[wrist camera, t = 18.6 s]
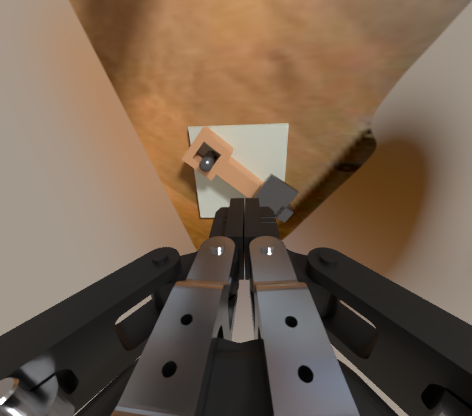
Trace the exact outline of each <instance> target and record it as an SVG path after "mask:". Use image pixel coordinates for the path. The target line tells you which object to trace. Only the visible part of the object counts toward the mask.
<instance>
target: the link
mask: <svg viewBox="0 0 472 416" xmlns="http://www.w3.org/2000/svg"><path fill="white" fill-rule="evenodd" d="M204 142H205V143H206V144H208V145H209V146H210V147H212V148H213V149H214V150H215V151H217V152H218V153H219V154H220V155H219V156H218V158H217V159H216V160H215V162H214V164H213V166H212V168H211V170H210V171H209V172H203V171H202V170H201V169H200V168H199V163H200V162H201V160H202V159H203V156H202V155H200V154H199V153H198V151H199V149H200V148H201V146H202V145H203V143H204ZM233 150H234V148H233V147H232V146H231V145H229V144H228V143H227V142H226V141H224V140H223V139H222V138H221V137H219V136H218V135H217V134H216V133H214V132H213V131H212V130H211V129H209V128H208V127H207V126H205V127H204V128H203V129H201V131H200V132H199V134H198V135H197V137H196V138H195V140H194V141H193V143H192V144H191V146H190V147H189V149H188V150H187V152H186V153H185V155H184V156H183V158H182V160H183V161H184V162H186V163H187V164H189V165H190V166H191V167H193V168H194V169H195V170H197V171H198V172H200V173H201V174H202V175H204V176H205V177H207V178H208V179H209V180H211V181H212V179H213V178H214V177H215V176H216V175H218V176H219V177H220V178H222V179H223V180H224V181H226V182H227V183H229V184H230V185H231V186H233V187H234V188H235V189H237V190H238V191H239V192H241V193H242V194H243V195H245V196H246V197H248V198H252V197H253V196H254V195H255V193H256V192H257V191H258V190H259V188H260V187H261V186H262V184H263V183H264V182H263V181H262V180H261V179H259V178H258V177H257V176H255V175H254V174H253V173H252V172H250V171H249V170H248V169H247V168H245V167H244V166H243V165H241V164H240V163H239V162H238V161H236V160H235V159H234V158H232V157H231V155H232V154H233Z"/></svg>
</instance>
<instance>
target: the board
mask: <svg viewBox="0 0 472 416" xmlns="http://www.w3.org/2000/svg"><path fill="white" fill-rule="evenodd" d="M288 126H289V124H288V123H279V124H252V125H224V126H207V127H208V128H209V129H211V130H212V131H213V132H214V133H216V134H217V135H218V136H219V137H221V138H222V139H223V140H224V141H226V142H227V143H228V144H229V145H231V146H232V147H233V148H234V150H233V154H232V155H231V157H232V158H234V159H235V160H236V161H238V162H239V163H240V164H241V165H243V166H244V167H245V168H247V169H248V170H249V171H250V172H252V173H253V174H254V175H255V176H257V177H258V178H259V179H261V180H262V181H263V182H265V180H266V179H267V178H268V176H269V175H270V174H273V175H274V176H276V177H278V178H279V179H281V180H282V181H285V168H286V154H287V140H288ZM204 127H205V126H197V127H188V130H189V137H190V144H192V143H193V141H194V140H195V138H196V137H197V135H198V134H199V132H200V131H201V129H203V128H204ZM208 151H214V152H215V153H216V155H217V158H218V156H219V155H220V154H219V153H218V152H217V151H215V150H214V149H213V148H212V147H210V146H209V145H208V144H206V143H205V142H204V143H203V145H202V146H201V148H200V149H199V151H198V153H199V154H200V155H202V156H203V157H204V156H205V154H206V153H207V152H208ZM217 158H216V159H217ZM194 173H195V180H196V187H197V194H198V202H199V209H200V216H201V218H214V217H215V213H216V211H217V210H218V209H220V208H221V207H229V205H230V199H231V198H244V208H245V198H248V197H246V196H245V195H243V194H242V193H241V192H239V191H238V190H237V189H235V188H234V187H233V186H231V185H230V184H229V183H227V182H226V181H224V180H223V179H222V178H220V177H219V176H218V175H216V176H215V177H214V178H213V179H212V181H211V180H209V179H208V178H207V177H205V176H204V175H202V174H201V173H200V172H198V171H197V170H195V169H194Z"/></svg>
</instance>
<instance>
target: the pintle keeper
mask: <svg viewBox="0 0 472 416" xmlns="http://www.w3.org/2000/svg"><path fill="white" fill-rule="evenodd" d="M216 158H217V155H216V153H215V152H214V151H208V152H207V153H206V154H205V156H204V157H203V159H202V160H201V162H200V163H199V168H200V169H201V170H202V171H203V172H209V171H210V170H211V168H212V166H213V164H214V162H215V160H216ZM297 194H298V191H297V190H296V189H294V188H293V187H291V186H290V185H288V184H287V183H285V182H284V181H282V180H281V179H279V178H278V177H276V176H274V175H273V174H270V175H269V176H268V178H267V179H266V180H265V182H264V183H263V184H262V186H261V187H260V188H259V190H258V191H257V192H256V193H255V195H254V196H253V197H252V198H259V205H260V207H270V208H271V209H272V210H273V211H274V214H275V219H276V218H278V219H280V220H282V221H283V222H286V220H287V219H288V218H289V217H290V216H291V215H292V214H293V213H294V212H293V210H292V207H291V205H290V202H291V201H292V200H293V199H294V198H295V197H296V196H297ZM244 211H245V208H244Z"/></svg>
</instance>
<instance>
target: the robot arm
mask: <svg viewBox="0 0 472 416" xmlns="http://www.w3.org/2000/svg"><path fill="white" fill-rule="evenodd" d="M244 253H245V277H246V278H245V279H246V280H250V301H251V310H252V320H253V331H254V340H251V341H247V342H244V343H236V342H233V341H232V331H233V325H234V318H235V311H236V303H237V296H238V295H237V294H238V288H239V280H243V279H244ZM149 295H151V297H152V299H151V300H150V301H149V302H147V303H146V304H145V305H143V306H142V307H140V308H139V309H138V310H136V311H135V312H134V313H132V314H131V315H129V316H128V317H127V318H125V319H124V320H123V321H121V322H120V323H118V324H116V325H115V322H116V321H117V319H118V318H119V317H120V316H121V315H122V314H124V313H125V312H127V311H128V310H129V309H131V308H132V307H134V306H135V305H137V304H138V303H139V302H141V301H142V300H144V299H145V298H146V297H148V296H149ZM340 300H342V301H343V302H345V303H346V304H347V305H349V306H350V307H352V308H353V309H354V310H356V311H357V312H358V313H360V314H361V315H363V316H364V317H365V318H367V319H368V320H369V321H370V322H372V324H374V326H375V327H376V328H374V327H373V326H372V325H370V324H369V323H367V322H366V321H365V320H363V319H362V318H361V317H359V316H358V315H357V314H355V313H354V312H353V311H351V310H350V309H349V308H347V307H346V306H344V305H343V304H342V303H340ZM331 344H332V345H333V346H334V347H335V348H336V349H337V350H338V351H339V352H341V353H342V354H343V355H344V356H345V357H346V358H347V359H348V360H349V361H350V362H351V363H352V364H353V365H355V366H356V367H357V368H358V369H359V370H360V371H361V372H362V373H363V374H364V375H365V376H367V377H368V378H369V379H370V380H371V381H372V382H373V383H374V384H375V385H376V386H377V387H378V388H379V389H381V390H382V391H383V392H384V393H385V394H386V395H387V396H388V397H389V398H390V399H391V400H393V401H394V402H395V403H396V404H397V405H398V406H399V407H400V408H401V409H402V410H403V411H404V412H406V413H407V414H408V415H409V416H472V325H470V324H468V323H466V322H464V321H463V320H461V319H459V318H457V317H455V316H454V315H452V314H450V313H448V312H446V311H445V310H443V309H441V308H439V307H437V306H436V305H433V304H432V303H430V302H428V301H427V300H425V299H423V298H421V297H419V296H418V295H416V294H414V293H412V292H410V291H408V290H407V289H405V288H403V287H401V286H400V285H398V284H396V283H394V282H392V281H390V280H389V279H387V278H385V277H383V276H382V275H380V274H378V273H376V272H374V271H373V270H371V269H369V268H367V267H365V266H364V265H362V264H360V263H358V262H356V261H354V260H353V259H351V258H349V257H347V256H345V255H344V254H342V253H340V252H338V251H336V250H333V249H330V248H315V249H313V250H311V251H310V252H309V253H308V256H307V255H302V254H298V253H294V252H292V251H290V250H288V249H286V247H285V245H284V243H283V242H282V241H281V240H280V237H279V232H278V228H277V223H276V219H275V214H274V211H273V210H272V209H271V208H270V207H260V205H259V198H245V211H244V198H231V199H230V205H229V207H221V208H220V209H218V210H217V211H216V213H215V217H214V221H213V224H212V228H211V232H210V236H209V239H207V240H205V241H204V242H203V243H202V244H201V246H200V248H199V250H198V251H197V252H194V253H191V254H186V255H182V256H180V255H179V253H178V251H177V250H176V249H174V248H170V247H163V248H158V249H155V250H153V251H151V252H149V253H147V254H145V255H144V256H142V257H140V258H138V259H136V260H135V261H133V262H131V263H129V264H128V265H126V266H124V267H122V268H120V269H119V270H117V271H115V272H114V273H111V274H110V275H108V276H106V277H104V278H103V279H101V280H99V281H98V282H96V283H94V284H92V285H90V286H88V287H87V288H85V289H83V290H81V291H80V292H78V293H76V294H74V295H73V296H71V297H69V298H67V299H65V300H64V301H62V302H60V303H58V304H56V305H55V306H53V307H51V308H49V309H48V310H46V311H44V312H42V313H40V314H39V315H37V316H35V317H33V318H32V319H30V320H28V321H26V322H24V323H23V324H21V325H19V326H17V327H16V328H14V329H12V330H10V331H9V332H7V333H5V334H3V335H2V336H0V416H73V415H74V414H75V413H76V412H77V411H78V410H79V409H80V408H82V407H83V406H84V405H85V404H86V403H87V402H88V401H90V400H91V399H92V398H93V397H94V396H95V395H96V394H98V393H99V392H100V391H101V390H102V389H103V388H104V387H105V388H104V389H103V390H102V391H101V392H100V393H99V394H98V395H97V396H96V397H94V398H93V399H92V400H91V401H90V402H89V403H88V404H87V405H86V406H85V407H84V408H83V409H82V410H80V411H79V412H78V413H77V414H76V415H75V416H398V415H397V414H396V413H395V412H394V411H393V410H392V409H391V408H390V407H389V406H388V405H387V404H386V403H385V402H384V401H383V400H382V399H381V398H380V397H379V396H378V395H377V394H376V393H375V392H374V391H373V390H372V389H371V388H370V387H369V386H368V385H367V384H366V383H365V382H364V381H363V380H362V379H361V378H360V377H359V376H358V375H357V374H356V373H355V372H354V371H353V370H351V369H350V368H349V367H348V366H346V365H345V364H344V363H342V362H341V361H339V360H338V359H337V358H336V356H335V353H334V351H333V348H332V346H331ZM139 356H140V358H138V357H139ZM137 358H138V359H137ZM136 359H137V360H136ZM135 360H136V361H135ZM113 379H114V380H113ZM112 380H113V381H112ZM111 381H112V382H111ZM110 382H111V383H110ZM109 383H110V384H109Z"/></svg>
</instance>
